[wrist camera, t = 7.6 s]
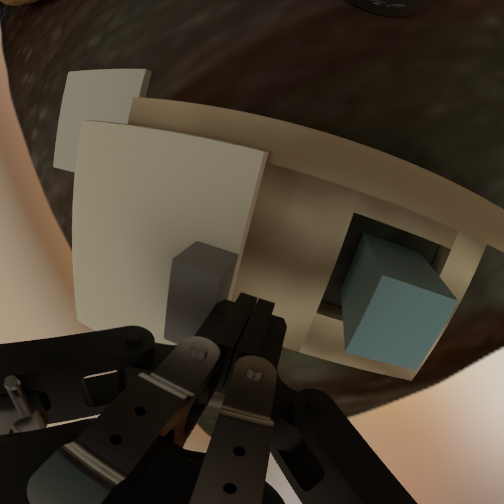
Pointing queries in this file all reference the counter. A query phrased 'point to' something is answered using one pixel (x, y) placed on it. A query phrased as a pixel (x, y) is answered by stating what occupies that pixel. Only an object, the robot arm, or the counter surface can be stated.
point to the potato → (18, 2)
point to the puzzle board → (331, 217)
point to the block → (393, 304)
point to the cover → (158, 226)
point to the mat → (95, 105)
